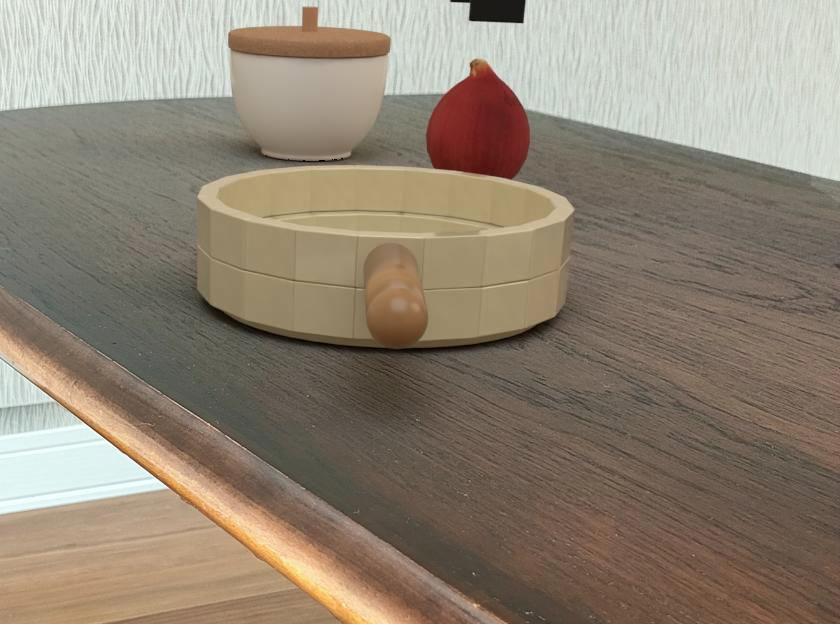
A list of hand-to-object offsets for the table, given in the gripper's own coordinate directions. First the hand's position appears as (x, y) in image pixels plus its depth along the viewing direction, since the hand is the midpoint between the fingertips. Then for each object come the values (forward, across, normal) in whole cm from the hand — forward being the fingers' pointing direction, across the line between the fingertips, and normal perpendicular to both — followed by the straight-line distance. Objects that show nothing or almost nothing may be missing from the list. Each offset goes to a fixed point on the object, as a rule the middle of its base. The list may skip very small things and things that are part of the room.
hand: (483, 12), depth 79 cm
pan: (+10, +23, -6) cm, 26 cm away
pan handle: (+8, +35, -6) cm, 37 cm away
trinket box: (+11, -16, -10) cm, 21 cm away
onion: (+11, 0, 0) cm, 11 cm away
